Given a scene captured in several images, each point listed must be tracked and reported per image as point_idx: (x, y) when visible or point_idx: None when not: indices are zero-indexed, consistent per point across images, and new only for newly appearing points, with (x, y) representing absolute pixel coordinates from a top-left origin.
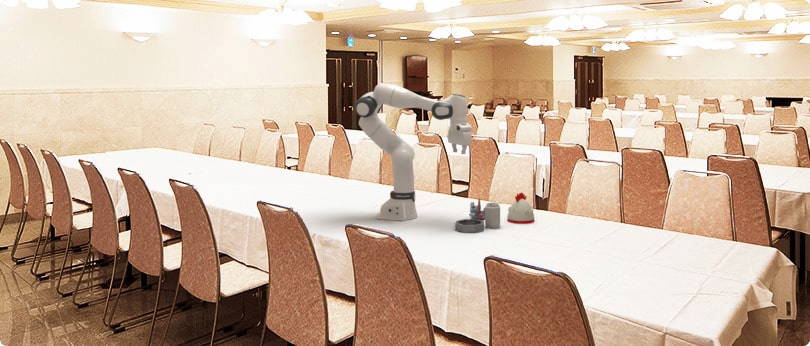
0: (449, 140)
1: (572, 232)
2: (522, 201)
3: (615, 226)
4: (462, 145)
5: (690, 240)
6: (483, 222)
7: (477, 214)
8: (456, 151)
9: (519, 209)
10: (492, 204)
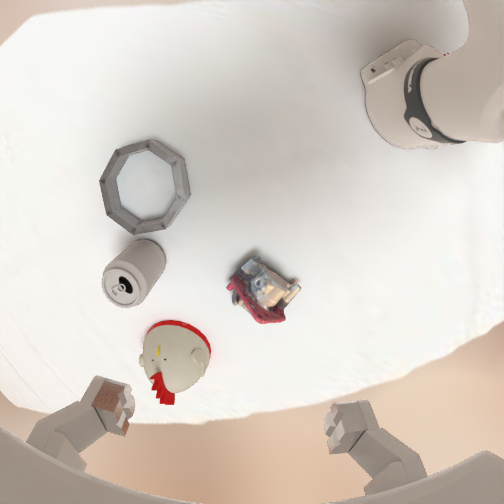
0: (474, 485)
1: (66, 348)
2: (152, 379)
3: None
4: (39, 450)
5: (31, 397)
6: (121, 224)
7: (234, 274)
8: (327, 423)
9: (147, 354)
10: (117, 285)
